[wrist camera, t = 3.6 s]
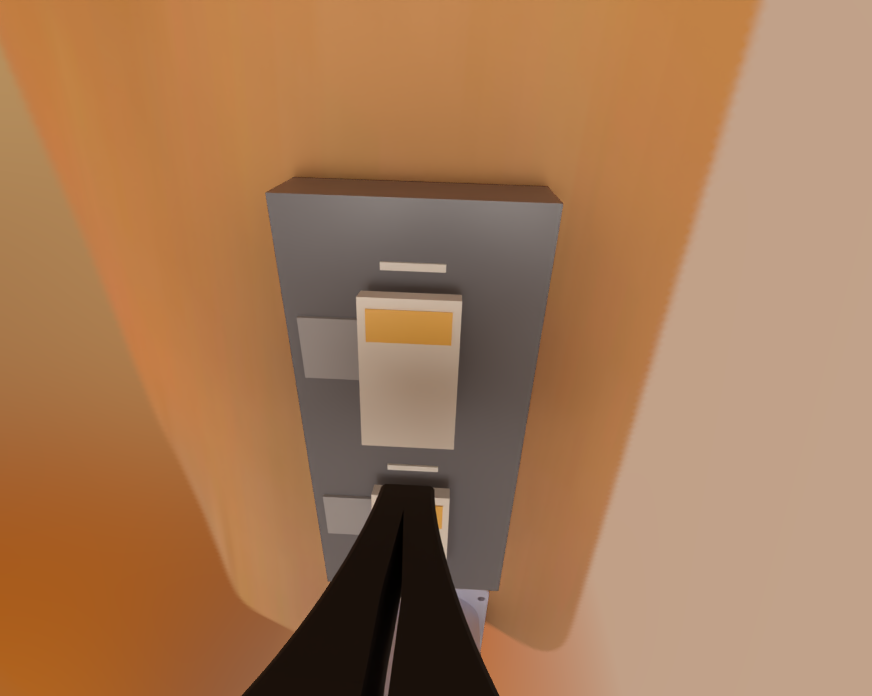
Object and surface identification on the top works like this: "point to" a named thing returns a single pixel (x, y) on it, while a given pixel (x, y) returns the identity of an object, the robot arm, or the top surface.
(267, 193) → the switch strip
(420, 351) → the plate
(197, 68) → the top surface
